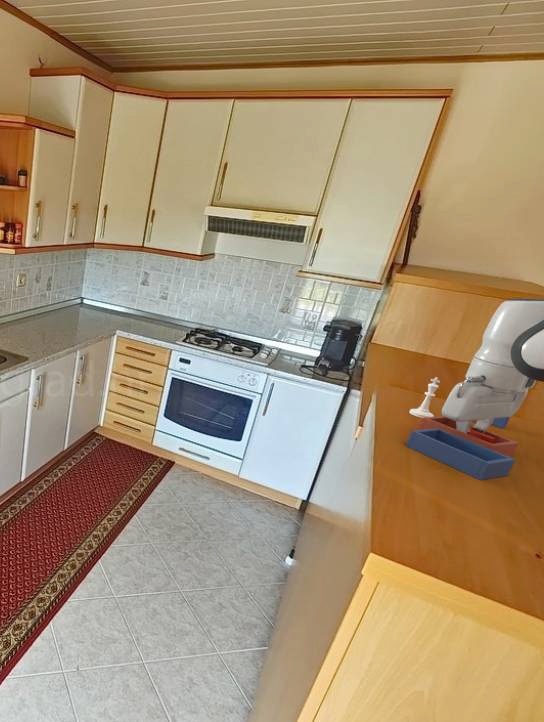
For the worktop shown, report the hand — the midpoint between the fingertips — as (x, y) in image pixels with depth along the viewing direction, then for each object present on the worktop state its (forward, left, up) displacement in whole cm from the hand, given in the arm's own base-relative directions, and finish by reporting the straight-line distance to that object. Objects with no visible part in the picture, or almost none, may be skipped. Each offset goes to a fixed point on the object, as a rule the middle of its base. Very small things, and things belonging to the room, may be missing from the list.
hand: (467, 436), depth 104 cm
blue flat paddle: (+10, -25, -2) cm, 27 cm away
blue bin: (-5, +12, -2) cm, 13 cm away
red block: (+1, 0, -2) cm, 2 cm away
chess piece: (+14, -9, -2) cm, 17 cm away
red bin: (0, 0, -2) cm, 2 cm away
